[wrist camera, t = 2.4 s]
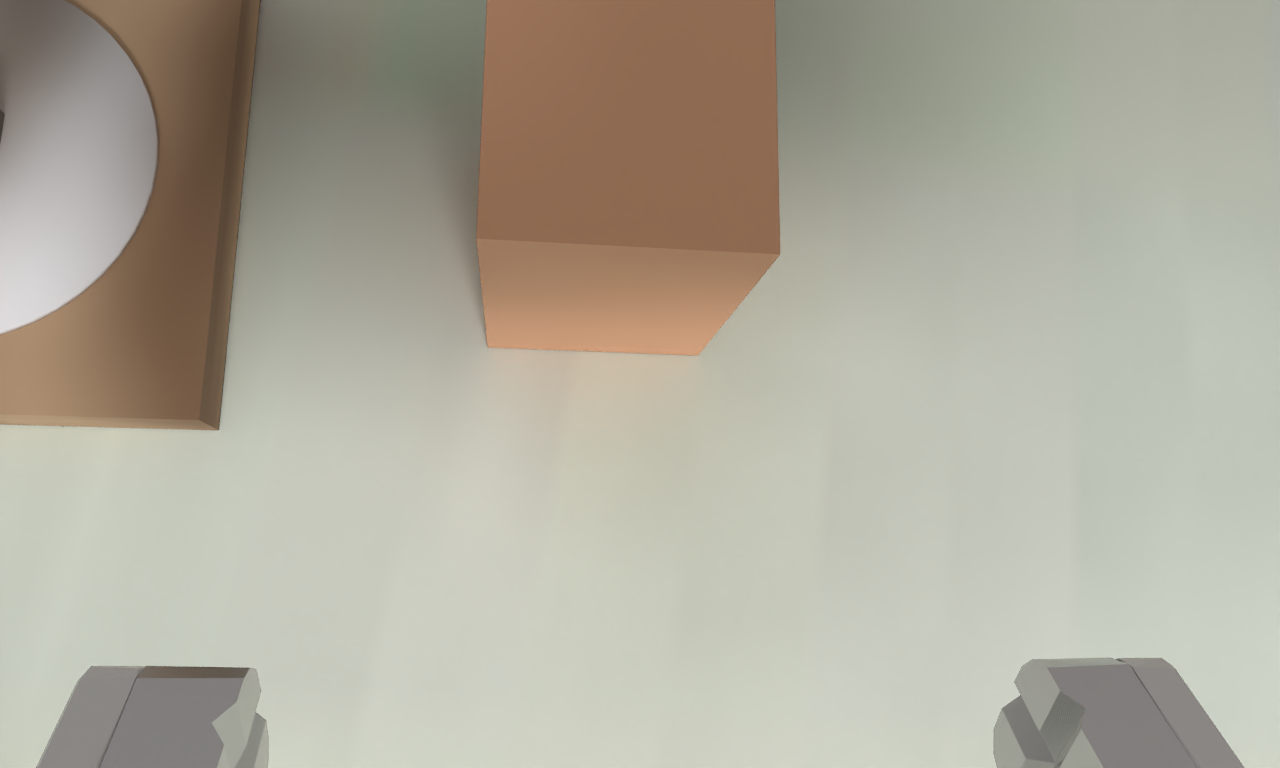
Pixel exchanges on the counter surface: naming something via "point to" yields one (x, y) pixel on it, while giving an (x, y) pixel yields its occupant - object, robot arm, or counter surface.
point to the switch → (120, 207)
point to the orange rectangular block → (625, 171)
